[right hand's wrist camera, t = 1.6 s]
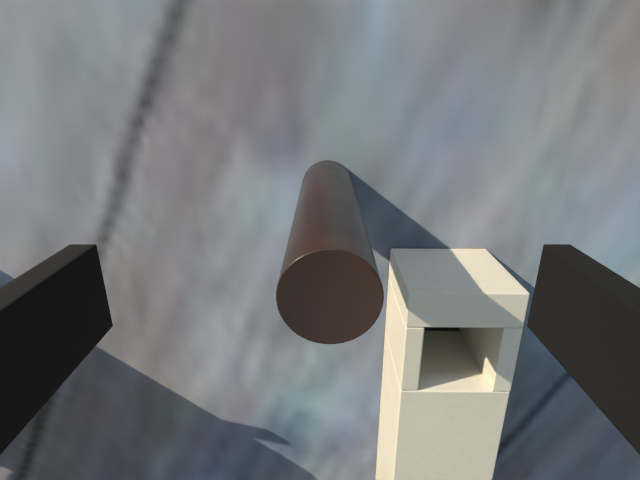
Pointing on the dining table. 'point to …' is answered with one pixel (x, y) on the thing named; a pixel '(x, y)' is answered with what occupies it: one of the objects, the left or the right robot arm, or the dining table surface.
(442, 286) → the peg block
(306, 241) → the walnut peg
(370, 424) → the dining table surface
